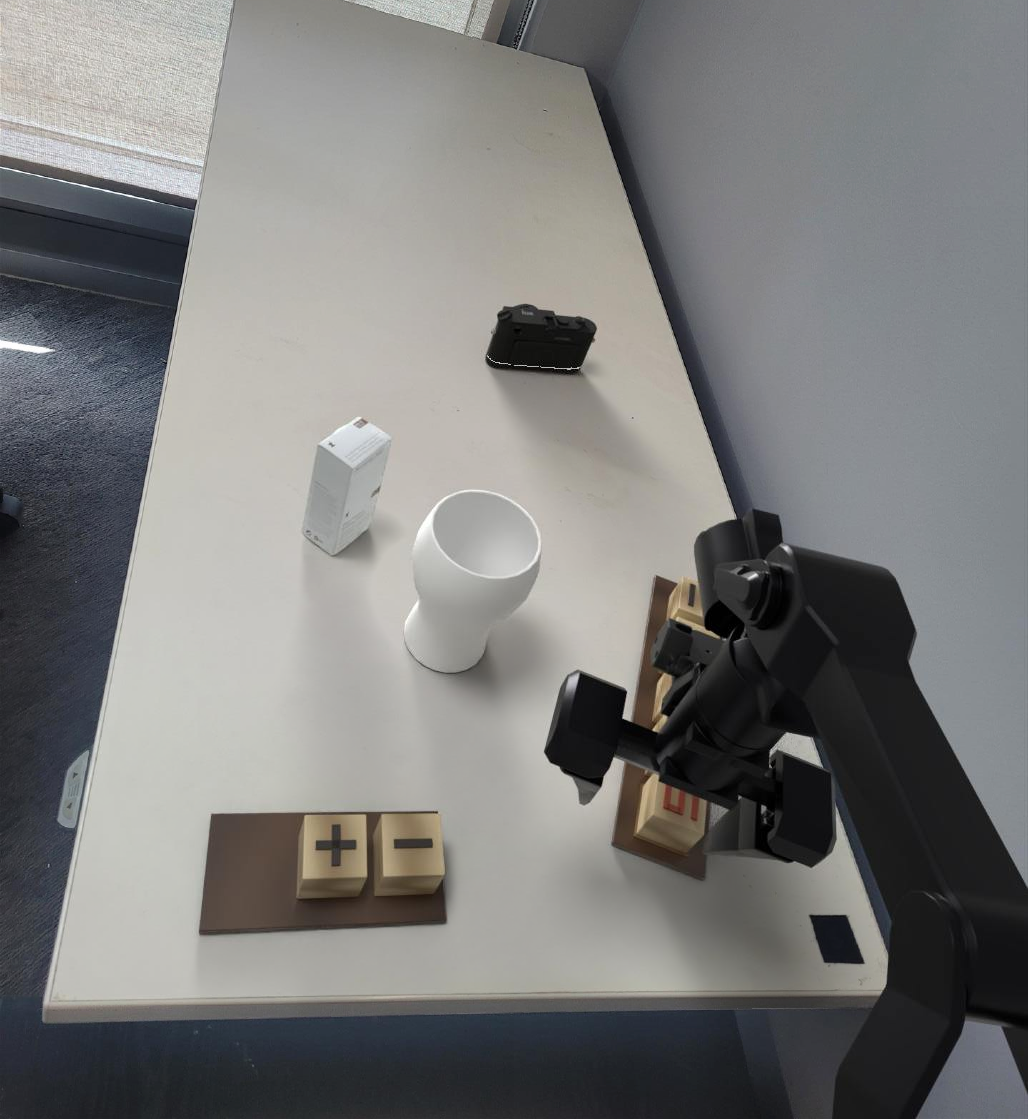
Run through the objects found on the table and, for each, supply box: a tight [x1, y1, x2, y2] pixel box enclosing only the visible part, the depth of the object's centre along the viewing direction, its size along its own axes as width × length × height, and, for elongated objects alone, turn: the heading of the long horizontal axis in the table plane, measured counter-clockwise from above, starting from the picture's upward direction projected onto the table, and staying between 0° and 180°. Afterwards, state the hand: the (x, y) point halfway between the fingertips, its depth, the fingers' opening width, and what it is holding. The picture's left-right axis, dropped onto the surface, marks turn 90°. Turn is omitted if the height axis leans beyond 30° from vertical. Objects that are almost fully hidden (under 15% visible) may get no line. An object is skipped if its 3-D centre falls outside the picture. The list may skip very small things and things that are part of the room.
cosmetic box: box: [301, 416, 393, 556], centre depth 85 cm, size 6×4×12 cm
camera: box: [484, 303, 598, 375], centre depth 117 cm, size 14×7×8 cm, turn 103°
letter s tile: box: [637, 773, 707, 853], centre depth 75 cm, size 4×4×4 cm
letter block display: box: [610, 574, 724, 881], centre depth 84 cm, size 30×8×4 cm, turn 165°
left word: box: [198, 810, 447, 935], centre depth 65 cm, size 17×8×4 cm, turn 97°
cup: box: [403, 489, 543, 674], centre depth 79 cm, size 11×11×15 cm
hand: (643, 822), depth 64 cm, fingers open, 9 cm apart
